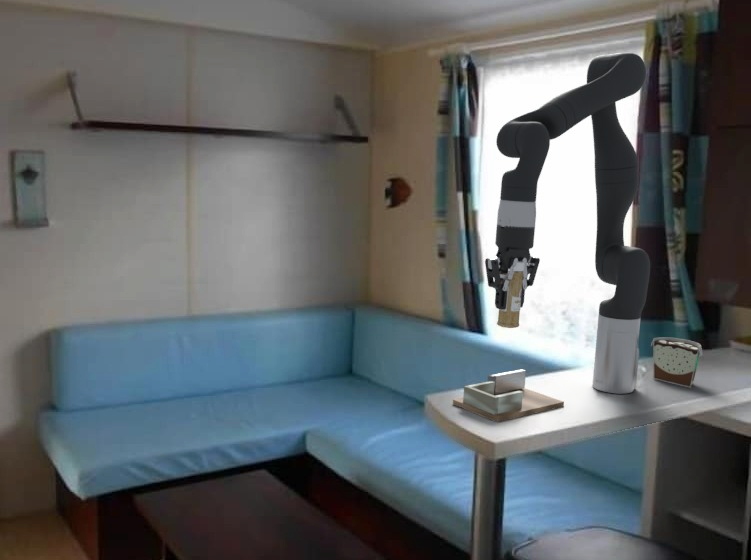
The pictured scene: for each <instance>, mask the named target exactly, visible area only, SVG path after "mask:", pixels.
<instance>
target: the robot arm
mask: <svg viewBox="0 0 751 560" xmlns="http://www.w3.org/2000/svg"><path fill="white" fill-rule="evenodd" d="M646 69H647V68H646V65H645V62H644V59H643V57H641V56H640V55H638V54H637V53H634V52H618V53H617V52H616V53H609V54H601V55H597V56H594V58H592V59H591V61H590V62H589V64H588V67H587V72H586V83H585V84H582V85H581V86H577V87H575V88H574V87H573V88H571V89H569V90H567V91H564V92H563V93H560V94H559V95H556V96H555V97H553V98H552V99H551V100H549V101H547V102H546V103H544V104H543V105H542V106H540V107H539V108H537V109H534V110H533V111H530V112H527V113H525V114H522V115H519V116H518V117H515V118H513V119H511V120H509V121H508V122H506V123H505V124H503V126H502V127H501V128H500V130H499V131H498V133H497V136H496V148H497V149H498V151H499V153H501V154H502V155H503V156H505V157H507V158H512V159H519V160H518V163H517V165H516V167H515V168H514V169H510V170H507V171H505V172H504V173H503V174H502V178H501V182H500V183H501V184H500V197H499V203H498V209H497V210H498V211H497V217H496V232H495V242H494V243H495V246H496V247H497V252H496V255H495V256H494V257H492V258H490V257H487V258H486V259H485V261H484V264H485V271H486V279H487V286H488V287H489V288H493V289H494V290H495V299H494V306H495V308H496V309H498V310H499V309H506V301H507V291H506V290H507V287H508V284H509V281H510V280H512V277H513V274H514V267H515V266H516V263H518V261H521V262H524V271H523V277H522V293H521V306H520V309H521V308H523V306H524V303H525V294H526V293H525V292H526V290H527V289H528V287H532V286H533V285H534V282H535V279H536V275H537V272H538V267H539V264H540V260H541V259H540V258H539V257H535V256H532V255H531V253H530V250H531V249H532V248H534V245H535V244H534V243H535V241H534V240H535V232H536V220H537V193H538V192H537V191H538V190H537V189H538V181H539V178H540V176H541V174H542V170H543V168H544V164H545V161H546V159H547V156H548V153H549V149H550V145H551V144H550V143H551V140H554V139H556V138H559V137H561V136H562V135H563V134H565V133H566V132H568V131H569V130H570V129H572V128H573V127H575V126H576V125H578V124H579V123H581V122H582V121H584V120H585V119H587V118H589V117H590V116H591V117H590V118H591V124H592V137H593V138H592V139H593V149H594V179H595V180H594V182H595V192H596V193H595V194H596V241H595V257H594V258H595V259H594V260H595V261H594V262H595V265H594V266H595V271H596V274H597V277H598V278H599V280H601V281H602V282H603V283H606V284H609V285H613V286H615V292H614V295H613V297H612V298H609V299H604V300H602V301H601V302H600V303H599V305H598V306H599V307H598V318H597V319H598V320H597V329H596V340H595V341H596V343H595V353H594V363H593V376H592V378H593V379H592V387H593V388H594V389H595V390H597V391H601V392H605V393H609V394H621V395H623V394H630V393H632V392H634V390H635V389H636V388H637V379H638V369H639V359H640V349H639V338H640V326H641V318H642V311H643V310H644V307H645V305H646V301H647V296H648V287H649V283H650V275H651V262H650V256H649V254H648V253H647V252H646V250H644V249H642V248H639V247H635V246H629V245H628V246H627V245H625V241H624V240H625V239H624V225H625V220H626V217H627V214H628V212H629V210H630V209H631V207H632V204H633V202H634V200H635V198H636V196H637V193H638V190H639V181H640V180H639V179H640V176H639V159H638V155H637V152H636V150H635V147H634V146H633V145H632V142H631V141H630V139H629V138H628V135H627V134H626V133H625V131H624V129H623V128H622V126H621V124H620V121H619V119H618V112H617V105H616V102H618V101H621V100H623V99H626V98H628V97H631V96H633V95H635V94H637V93H638V92H639V91H640V90H641V89H642V87H643V85H644V84H645V81H646V77H647V76H646V75H647V70H646ZM502 272H503V273H507V274H506V275H503V274H502ZM502 279H504V280H503V284H501V282H502Z"/></svg>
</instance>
